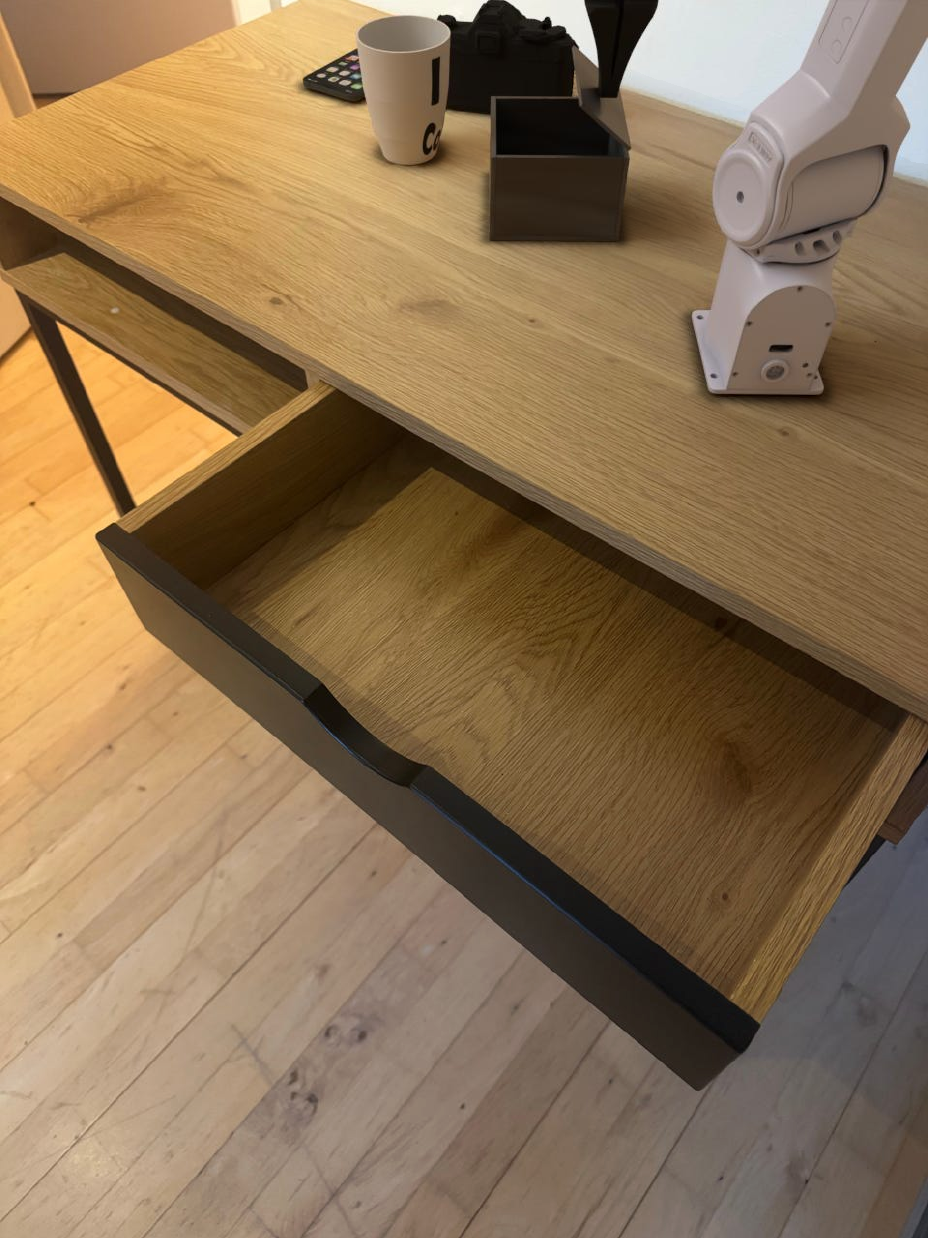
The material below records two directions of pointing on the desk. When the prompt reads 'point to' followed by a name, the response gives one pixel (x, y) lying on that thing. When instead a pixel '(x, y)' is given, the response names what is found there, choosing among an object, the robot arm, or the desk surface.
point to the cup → (405, 83)
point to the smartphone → (339, 78)
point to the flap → (599, 100)
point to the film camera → (506, 57)
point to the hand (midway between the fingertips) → (607, 92)
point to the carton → (553, 172)
